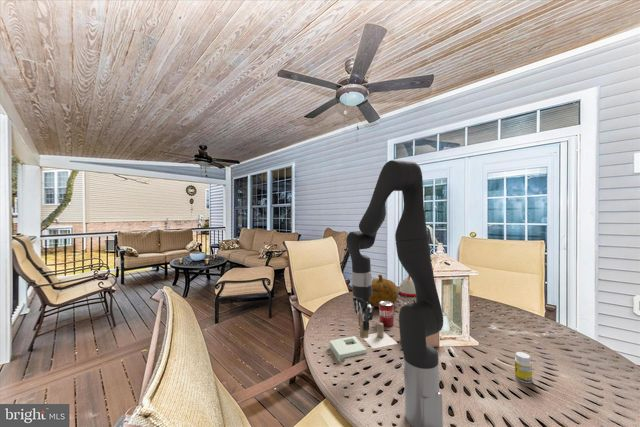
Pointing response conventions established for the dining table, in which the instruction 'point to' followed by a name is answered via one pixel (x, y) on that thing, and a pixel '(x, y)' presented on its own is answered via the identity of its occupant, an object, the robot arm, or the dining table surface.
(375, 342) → the board
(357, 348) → the peg board
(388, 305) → the soda can
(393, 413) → the dining table surface
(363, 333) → the peg
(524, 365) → the supplement bottle
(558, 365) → the dining table surface
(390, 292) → the decorative pumpkin
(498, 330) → the dining table surface
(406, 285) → the kitchen timer
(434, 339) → the peach stamp with handle
